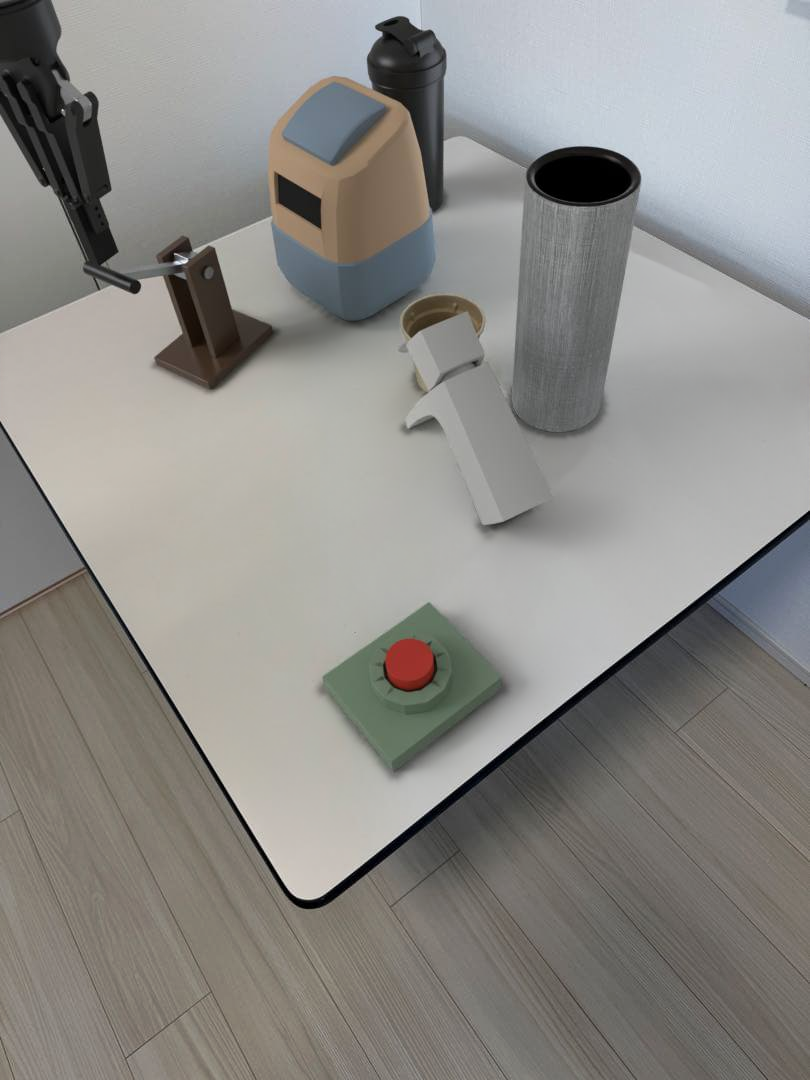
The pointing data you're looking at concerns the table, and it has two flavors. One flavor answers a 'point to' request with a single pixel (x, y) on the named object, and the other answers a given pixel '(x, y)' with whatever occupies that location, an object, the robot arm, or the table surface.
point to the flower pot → (438, 316)
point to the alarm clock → (349, 199)
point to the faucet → (475, 420)
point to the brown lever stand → (206, 320)
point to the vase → (570, 282)
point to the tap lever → (138, 272)
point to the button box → (412, 715)
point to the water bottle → (414, 89)
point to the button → (409, 664)
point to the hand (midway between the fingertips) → (103, 256)
